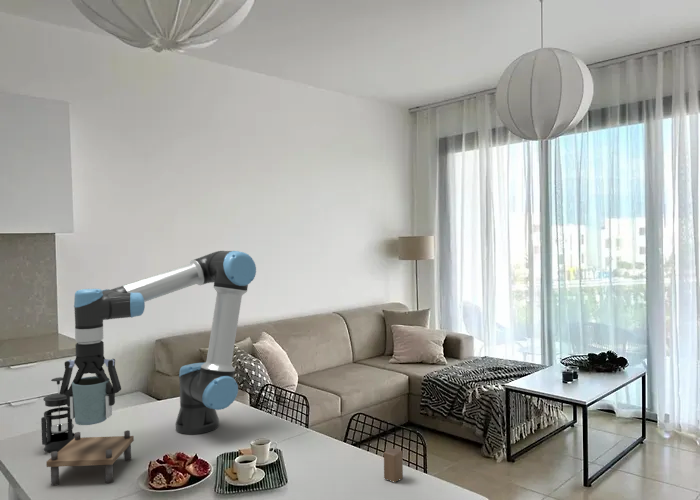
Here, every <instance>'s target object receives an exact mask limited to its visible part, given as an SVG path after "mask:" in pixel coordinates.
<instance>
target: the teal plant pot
mask: <svg viewBox="0 0 700 500" xmlns="http://www.w3.org/2000/svg"><path fill="white" fill-rule="evenodd" d="M109 381H111V378H110V377H108V380H107V381H106V382H103V383H101V381H100V379H99V378H98V376H96V375H94V376H85V377H82V378H81V380H80V382H79V384H78V385H77V384H74V382H73V381H71V384H72V391H73V399H74V411H75V418H74V423H75V424H76V425H78V426H92V425H96V424H101V423H103V422H105V421H106V420H107V419H108V418H106V397H105V396H106V395H107V394H108V393H107V391H106V383H108V382H109Z"/></svg>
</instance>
